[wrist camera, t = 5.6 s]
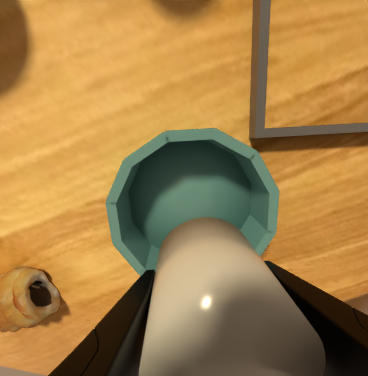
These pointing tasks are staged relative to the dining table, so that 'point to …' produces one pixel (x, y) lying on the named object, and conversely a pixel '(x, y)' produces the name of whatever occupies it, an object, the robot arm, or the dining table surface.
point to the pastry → (26, 298)
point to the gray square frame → (260, 81)
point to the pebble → (223, 311)
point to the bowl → (189, 192)
